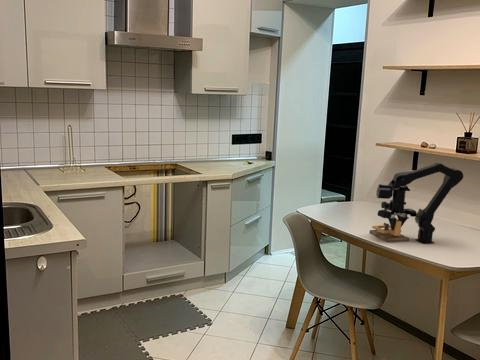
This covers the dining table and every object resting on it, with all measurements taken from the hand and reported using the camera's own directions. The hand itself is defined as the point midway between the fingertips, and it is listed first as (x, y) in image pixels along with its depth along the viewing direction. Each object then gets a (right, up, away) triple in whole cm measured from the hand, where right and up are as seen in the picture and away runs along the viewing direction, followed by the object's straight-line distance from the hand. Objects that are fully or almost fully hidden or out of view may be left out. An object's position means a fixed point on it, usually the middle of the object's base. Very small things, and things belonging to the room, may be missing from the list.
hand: (395, 230), depth 231 cm
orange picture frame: (-2, -1, +5) cm, 5 cm away
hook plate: (-2, -4, +5) cm, 7 cm away
